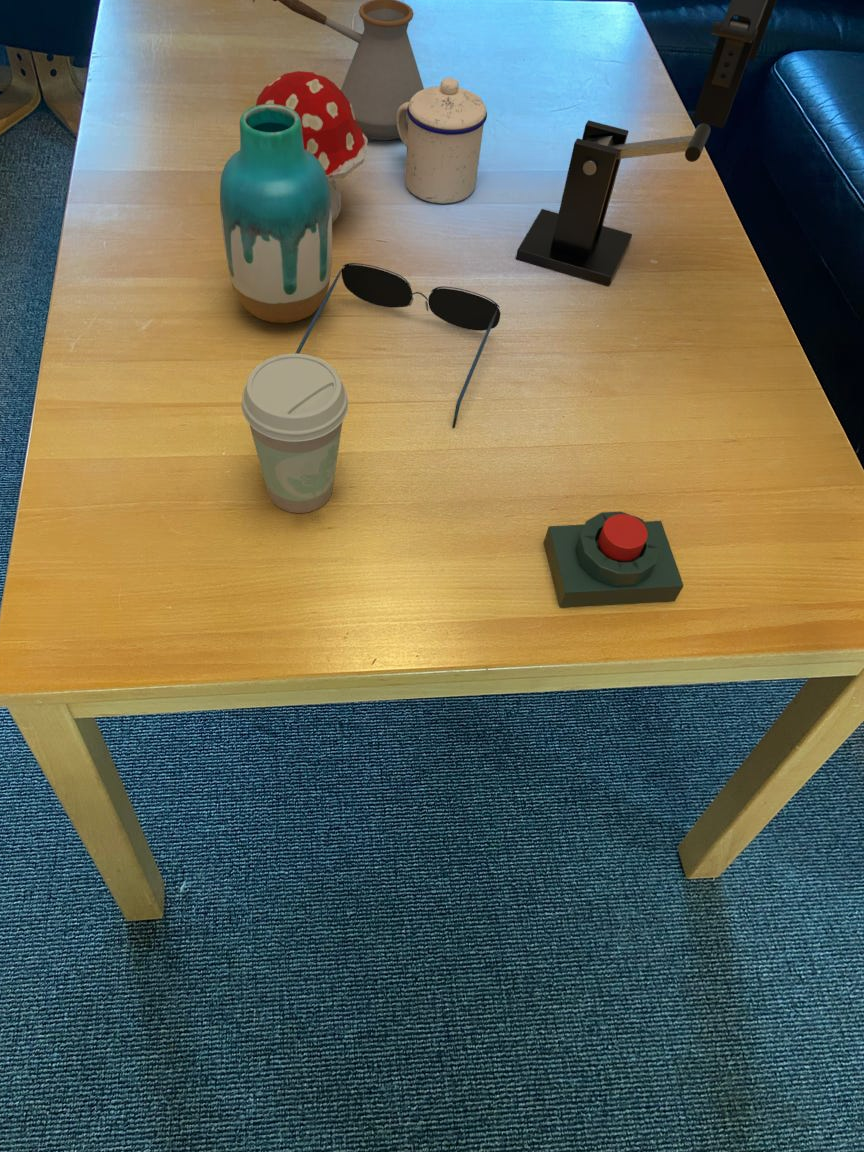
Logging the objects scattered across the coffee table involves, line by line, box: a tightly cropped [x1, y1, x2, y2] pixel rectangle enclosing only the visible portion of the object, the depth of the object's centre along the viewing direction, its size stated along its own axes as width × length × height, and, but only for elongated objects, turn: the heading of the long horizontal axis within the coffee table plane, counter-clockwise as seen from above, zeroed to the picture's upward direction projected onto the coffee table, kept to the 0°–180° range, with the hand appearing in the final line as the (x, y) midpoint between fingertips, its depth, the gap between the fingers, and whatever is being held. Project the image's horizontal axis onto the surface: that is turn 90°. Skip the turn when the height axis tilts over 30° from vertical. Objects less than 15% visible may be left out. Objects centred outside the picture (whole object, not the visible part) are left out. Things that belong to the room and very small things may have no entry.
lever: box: [586, 123, 712, 163], centre depth 87 cm, size 12×5×2 cm, turn 67°
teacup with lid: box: [396, 77, 488, 204], centre depth 100 cm, size 12×9×12 cm
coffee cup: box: [241, 352, 349, 514], centre depth 72 cm, size 8×8×12 cm
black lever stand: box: [515, 120, 633, 287], centre depth 93 cm, size 11×9×13 cm
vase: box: [219, 104, 333, 324], centre depth 83 cm, size 11×11×19 cm
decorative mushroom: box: [254, 70, 369, 224], centre depth 93 cm, size 14×14×15 cm
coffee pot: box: [252, 0, 425, 141], centre depth 105 cm, size 21×12×15 cm, turn 89°
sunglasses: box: [295, 262, 501, 429], centre depth 86 cm, size 17×15×5 cm
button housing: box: [543, 511, 685, 608], centre depth 72 cm, size 10×7×4 cm
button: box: [598, 514, 648, 561], centre depth 70 cm, size 4×4×2 cm
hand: (725, 88), depth 76 cm, fingers open, 13 cm apart
